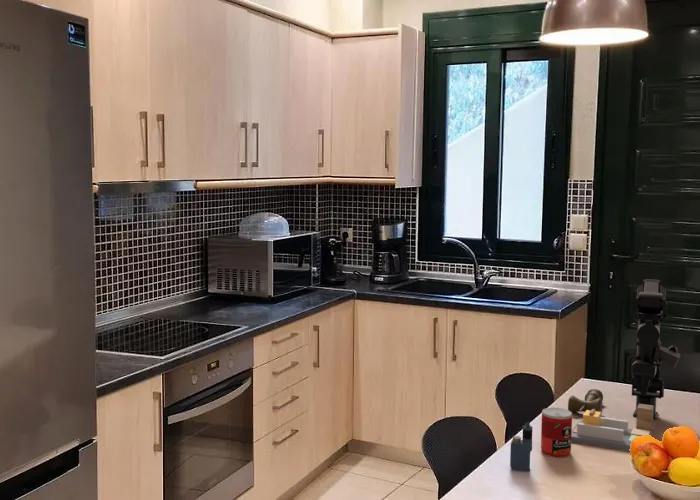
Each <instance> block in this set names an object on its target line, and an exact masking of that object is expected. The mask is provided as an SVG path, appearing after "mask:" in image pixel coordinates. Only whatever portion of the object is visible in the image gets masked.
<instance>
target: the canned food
mask: <svg viewBox="0 0 700 500" xmlns="http://www.w3.org/2000/svg"><path fill="white" fill-rule="evenodd" d="M572 426H573V413H571V412H570V411H568V409H566V408H561V407H546V408H543V409H542V410H541V428H540V429H541V432H540V434H541V435H540V449H541V452H542V454H544V455H546V456H547V457H548V456H549V457H552V458H567V457H569V456H570V455H571V452H572V442H571V434H572V430H573V427H572Z"/></svg>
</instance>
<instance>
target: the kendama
mask: <svg viewBox="0 0 700 500" xmlns="http://www.w3.org/2000/svg"><path fill="white" fill-rule="evenodd" d="M603 400H604V394H603V392H602V391H601V390H600V389H596V388H591V389H589V390H588V391H587V393H586V394H585V395H584V400H583V399H580V398H578V397H576V396H575V395H570V396H569V398H568V402H567V410H568V411H570V412H571V413H572V414H575V413H582V412H584V413H585V411H586V410H590V411H591V410H592V409H595V411H597V412H601V416H602V414H603V408H604V407H603Z"/></svg>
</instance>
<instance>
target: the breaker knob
mask: <svg viewBox="0 0 700 500" xmlns="http://www.w3.org/2000/svg"><path fill="white" fill-rule="evenodd" d="M601 417H602V415H601V412H597V411H595V409H592V410H591V411H590V410H586V411H585V412H584V413H583V414H582V422H583V424H590V425H597V426H601Z"/></svg>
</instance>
